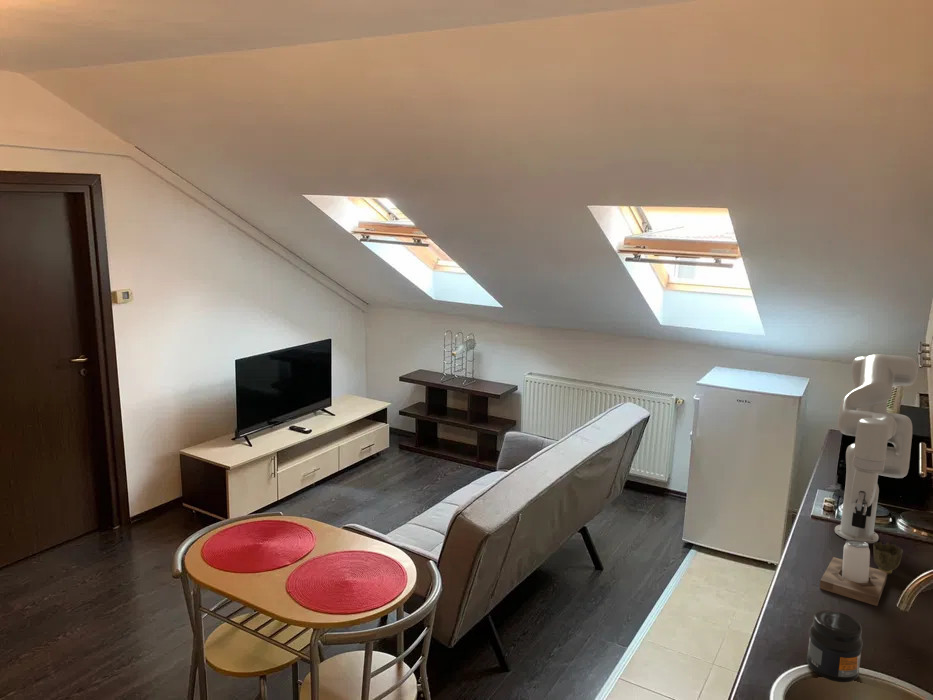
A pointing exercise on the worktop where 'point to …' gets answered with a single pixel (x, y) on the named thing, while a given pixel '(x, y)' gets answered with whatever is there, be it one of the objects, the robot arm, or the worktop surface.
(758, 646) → the worktop surface
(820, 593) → the worktop surface
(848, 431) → the robot arm
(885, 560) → the cup
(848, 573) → the can
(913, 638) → the worktop surface
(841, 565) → the hole plate
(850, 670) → the supplement container
